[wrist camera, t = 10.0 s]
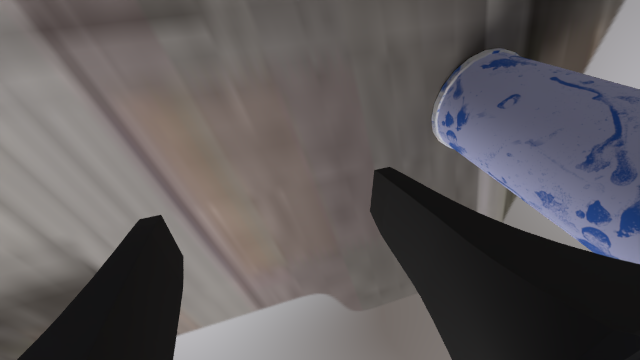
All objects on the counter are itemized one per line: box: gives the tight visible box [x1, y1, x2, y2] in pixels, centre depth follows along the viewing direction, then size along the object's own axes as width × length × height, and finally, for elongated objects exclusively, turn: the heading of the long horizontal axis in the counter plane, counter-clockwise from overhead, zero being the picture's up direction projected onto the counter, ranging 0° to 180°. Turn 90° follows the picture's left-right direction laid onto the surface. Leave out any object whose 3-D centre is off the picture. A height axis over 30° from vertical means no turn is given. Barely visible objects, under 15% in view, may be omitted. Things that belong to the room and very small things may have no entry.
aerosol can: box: [432, 48, 640, 264], centre depth 14 cm, size 8×8×20 cm
